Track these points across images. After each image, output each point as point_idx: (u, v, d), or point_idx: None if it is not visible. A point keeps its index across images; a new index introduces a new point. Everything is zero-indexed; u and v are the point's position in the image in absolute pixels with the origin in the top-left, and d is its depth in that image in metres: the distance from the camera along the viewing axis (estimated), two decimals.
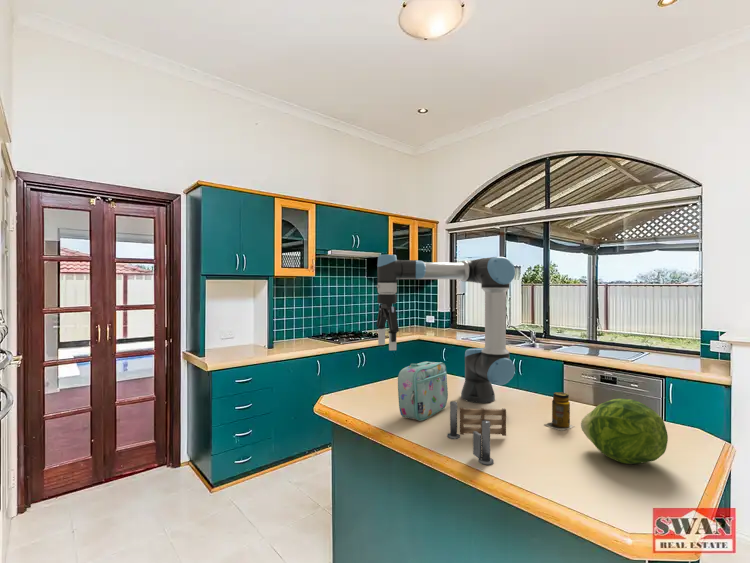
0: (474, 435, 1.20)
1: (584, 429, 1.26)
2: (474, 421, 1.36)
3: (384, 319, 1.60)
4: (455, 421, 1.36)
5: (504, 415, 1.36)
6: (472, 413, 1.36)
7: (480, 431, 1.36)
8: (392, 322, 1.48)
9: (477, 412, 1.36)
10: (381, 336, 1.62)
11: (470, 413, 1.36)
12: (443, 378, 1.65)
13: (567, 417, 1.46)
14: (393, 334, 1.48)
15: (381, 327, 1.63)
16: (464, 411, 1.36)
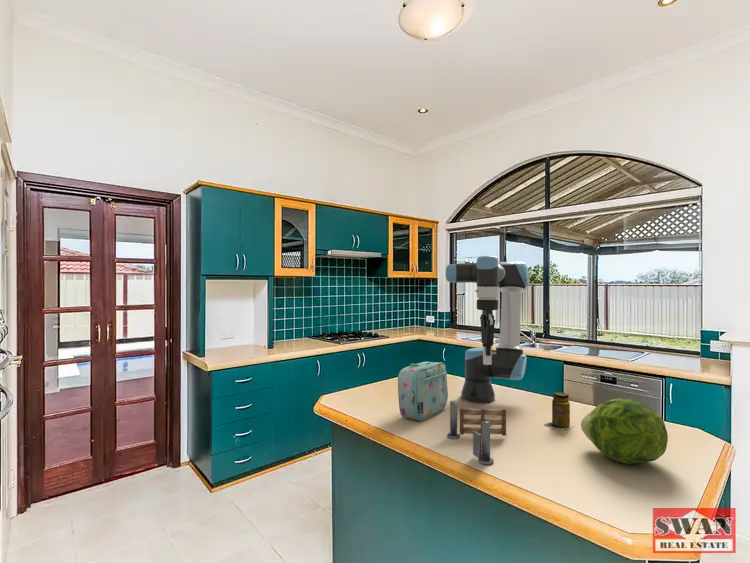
0: (474, 435, 1.20)
1: (584, 429, 1.26)
2: (474, 421, 1.36)
3: None
4: (455, 421, 1.36)
5: (504, 415, 1.36)
6: (472, 413, 1.36)
7: (480, 431, 1.36)
8: (487, 336, 1.38)
9: (477, 412, 1.36)
10: None
11: (470, 413, 1.36)
12: (443, 378, 1.65)
13: (567, 417, 1.46)
14: (487, 348, 1.41)
15: None
16: (464, 411, 1.36)
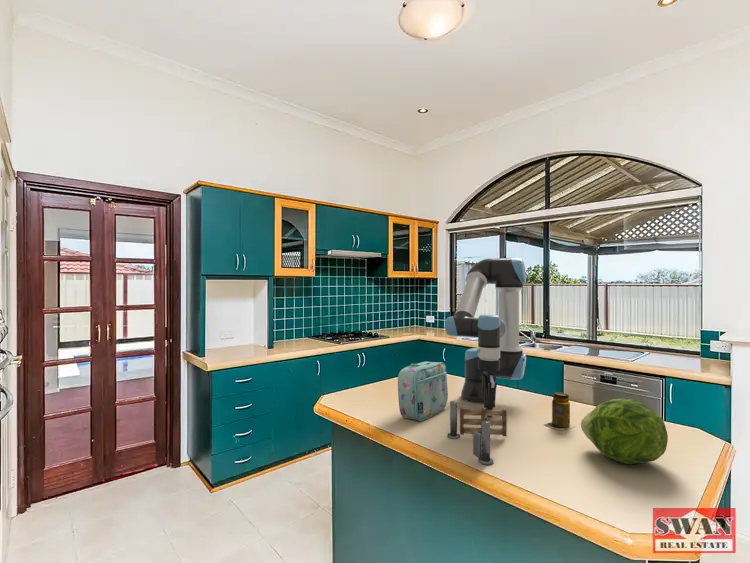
0: (474, 435, 1.20)
1: (584, 429, 1.26)
2: (475, 421, 1.36)
3: None
4: (455, 421, 1.36)
5: (504, 416, 1.35)
6: (472, 413, 1.36)
7: (480, 431, 1.36)
8: (489, 399, 1.36)
9: (477, 412, 1.36)
10: None
11: (470, 413, 1.36)
12: (443, 378, 1.65)
13: (567, 417, 1.46)
14: (489, 409, 1.38)
15: None
16: (464, 411, 1.36)
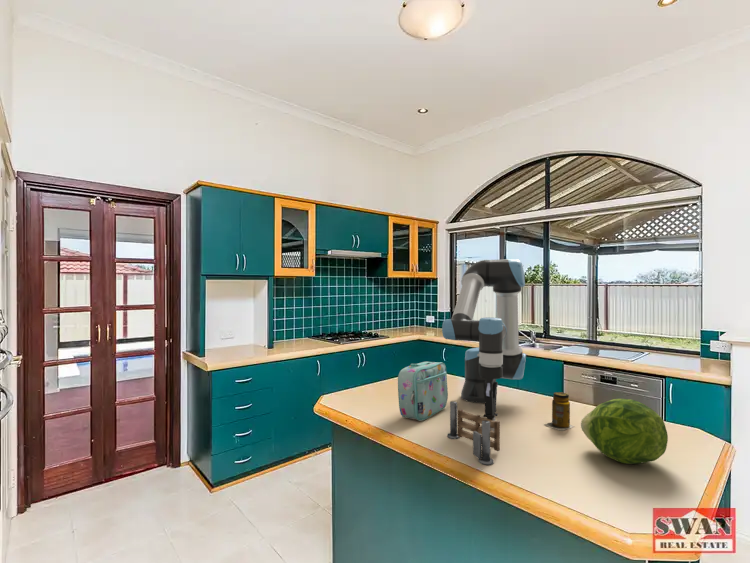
0: (474, 435, 1.20)
1: (584, 429, 1.26)
2: (469, 426, 1.31)
3: None
4: (455, 421, 1.36)
5: (495, 428, 1.24)
6: (467, 417, 1.32)
7: None
8: (486, 407, 1.27)
9: (472, 418, 1.31)
10: None
11: (465, 417, 1.33)
12: (443, 378, 1.65)
13: (567, 417, 1.46)
14: None
15: None
16: (460, 413, 1.34)
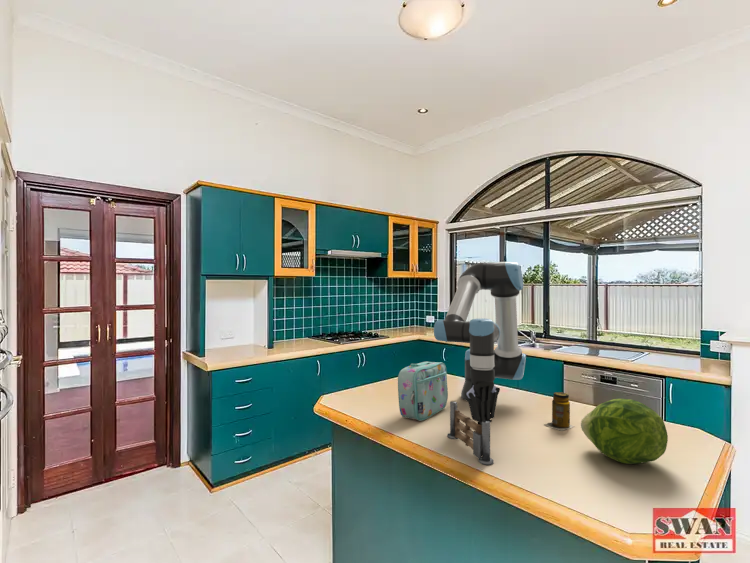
0: (474, 435, 1.20)
1: (584, 429, 1.26)
2: (462, 427, 1.30)
3: (484, 403, 1.26)
4: None
5: None
6: (460, 418, 1.31)
7: (464, 440, 1.28)
8: (471, 410, 1.24)
9: (463, 419, 1.29)
10: None
11: (459, 418, 1.32)
12: (443, 378, 1.65)
13: (567, 417, 1.46)
14: (478, 423, 1.25)
15: None
16: (456, 414, 1.34)
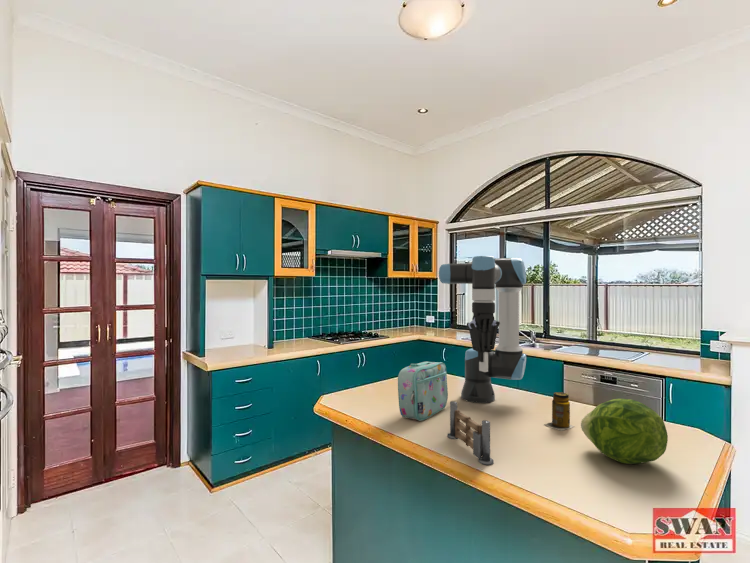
0: (474, 435, 1.20)
1: (584, 429, 1.26)
2: (462, 427, 1.30)
3: (485, 334, 1.34)
4: None
5: (478, 432, 1.21)
6: (461, 418, 1.31)
7: (465, 440, 1.28)
8: (472, 340, 1.33)
9: (463, 419, 1.29)
10: None
11: (460, 418, 1.32)
12: (443, 378, 1.65)
13: (567, 417, 1.46)
14: (478, 353, 1.33)
15: (485, 348, 1.34)
16: (457, 414, 1.34)
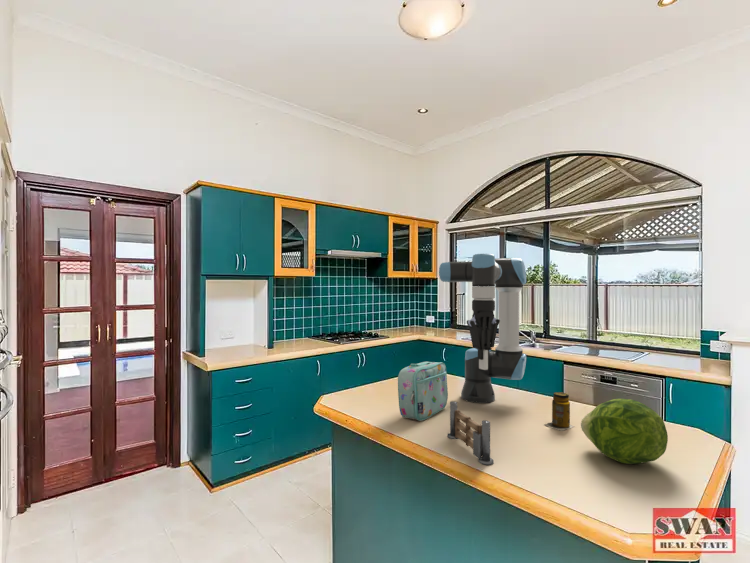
0: (474, 435, 1.20)
1: (584, 429, 1.26)
2: (462, 427, 1.30)
3: (485, 332, 1.34)
4: None
5: (478, 432, 1.21)
6: (461, 418, 1.31)
7: (465, 440, 1.28)
8: (471, 338, 1.33)
9: (463, 419, 1.29)
10: None
11: (460, 418, 1.32)
12: (443, 378, 1.65)
13: (567, 417, 1.46)
14: (478, 351, 1.33)
15: (485, 346, 1.34)
16: (457, 414, 1.34)
